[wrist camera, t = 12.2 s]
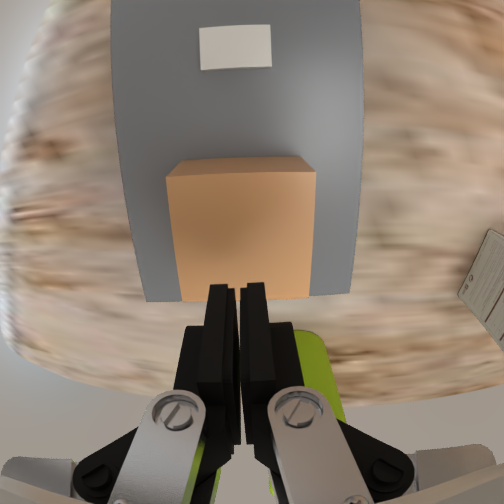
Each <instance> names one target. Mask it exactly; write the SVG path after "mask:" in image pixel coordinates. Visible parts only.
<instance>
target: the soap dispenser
mask: <svg viewBox="0 0 504 504" xmlns="http://www.w3.org/2000/svg"><path fill="white" fill-rule="evenodd" d="M294 335H295V340H296V345H297V350H298V355H299V359H300V364H301V369H302V374H303V379H304V384H305V387H310V388H312V389H315V390H317V391H319V392H320V393H321V394H323V395H324V396H325V398H326V399H327V400H328V402H329V404H330V406H331V408H332V411H333V413H334V415H335V417H336V418H337V419H339V420H341V421H342V422H344V423H346V419H345V415H344V412H343V408H342V404H341V400H340V397H339V393H338V389H337V386H336V382H335V379H334V375H333V372H332V368H331V365H330V361H329V358H328V354H327V351H326V347H325V344H324V342H323V341H322V339H321V338H320V337H319V336H317V335H316V334H314V333H311V332H308V331H301V330H295V331H294ZM346 424H347V423H346ZM269 484H270V485H269V486H270V492H271V494H272V495H274V492H273V488H272V484H271V481H270V477H269Z"/></svg>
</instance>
